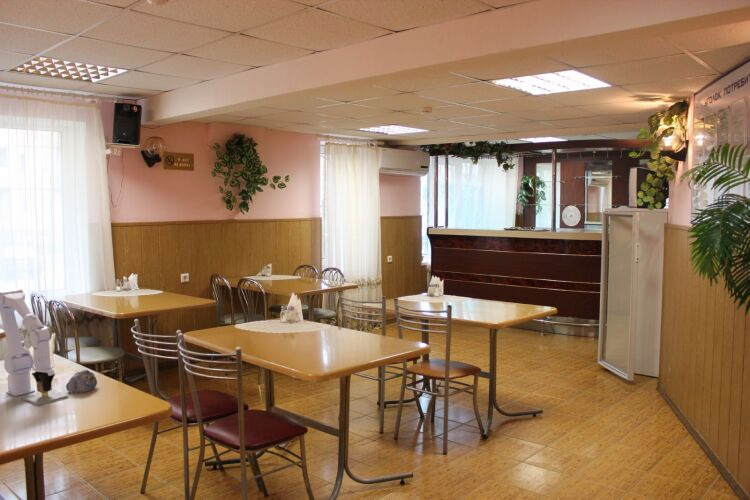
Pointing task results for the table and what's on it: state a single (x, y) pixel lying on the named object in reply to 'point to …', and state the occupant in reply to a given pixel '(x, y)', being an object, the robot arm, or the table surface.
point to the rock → (82, 382)
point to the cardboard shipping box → (41, 387)
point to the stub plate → (44, 397)
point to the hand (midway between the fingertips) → (44, 389)
